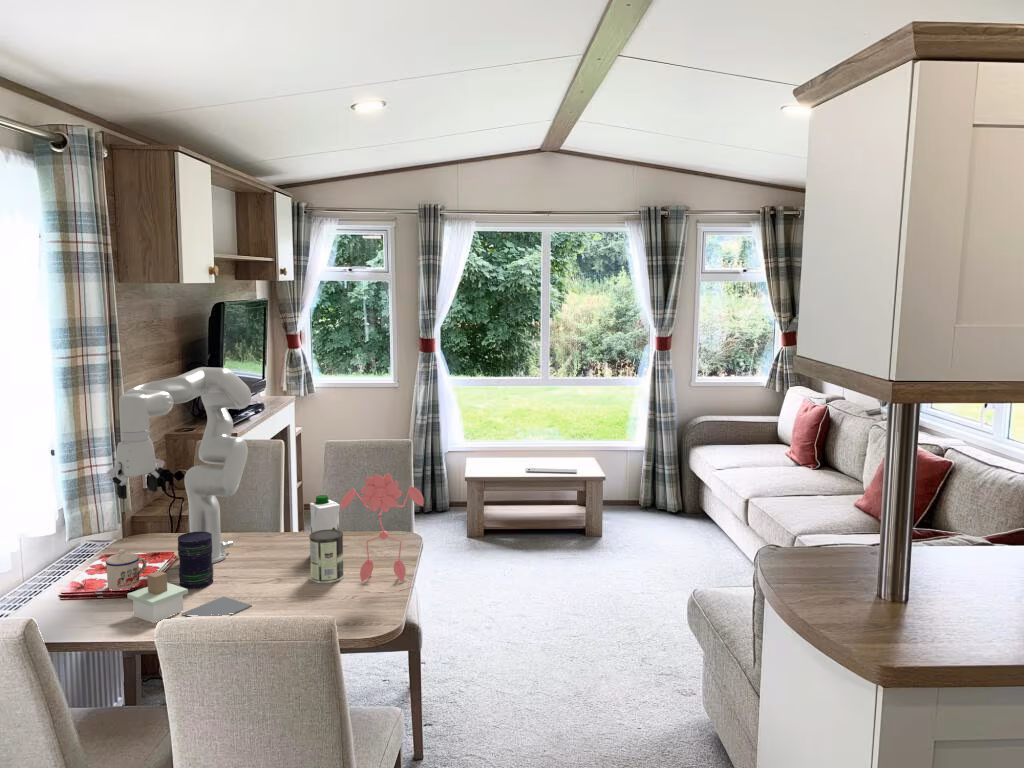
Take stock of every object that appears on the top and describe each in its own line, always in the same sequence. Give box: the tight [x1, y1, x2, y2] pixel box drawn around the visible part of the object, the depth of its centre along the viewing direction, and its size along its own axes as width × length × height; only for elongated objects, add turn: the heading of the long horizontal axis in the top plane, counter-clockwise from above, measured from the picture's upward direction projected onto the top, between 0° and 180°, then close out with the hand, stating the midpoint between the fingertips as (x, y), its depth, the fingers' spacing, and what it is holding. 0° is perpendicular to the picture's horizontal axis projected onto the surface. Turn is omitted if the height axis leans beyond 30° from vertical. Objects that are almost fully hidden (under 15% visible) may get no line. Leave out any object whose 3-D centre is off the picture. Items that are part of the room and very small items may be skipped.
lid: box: [126, 570, 189, 607], centre depth 215 cm, size 11×11×6 cm
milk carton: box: [309, 494, 341, 534], centre depth 263 cm, size 9×9×20 cm
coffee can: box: [309, 529, 345, 584], centre depth 243 cm, size 10×10×14 cm
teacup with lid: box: [105, 548, 147, 590], centre depth 235 cm, size 12×9×12 cm
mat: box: [181, 596, 253, 616], centre depth 218 cm, size 14×12×1 cm
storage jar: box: [177, 531, 214, 591], centre depth 237 cm, size 10×10×15 cm
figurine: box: [340, 473, 425, 594], centre depth 237 cm, size 15×26×35 cm, turn 91°
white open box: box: [132, 595, 184, 624], centre depth 215 cm, size 9×9×6 cm
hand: (138, 494), depth 225 cm, fingers open, 9 cm apart
